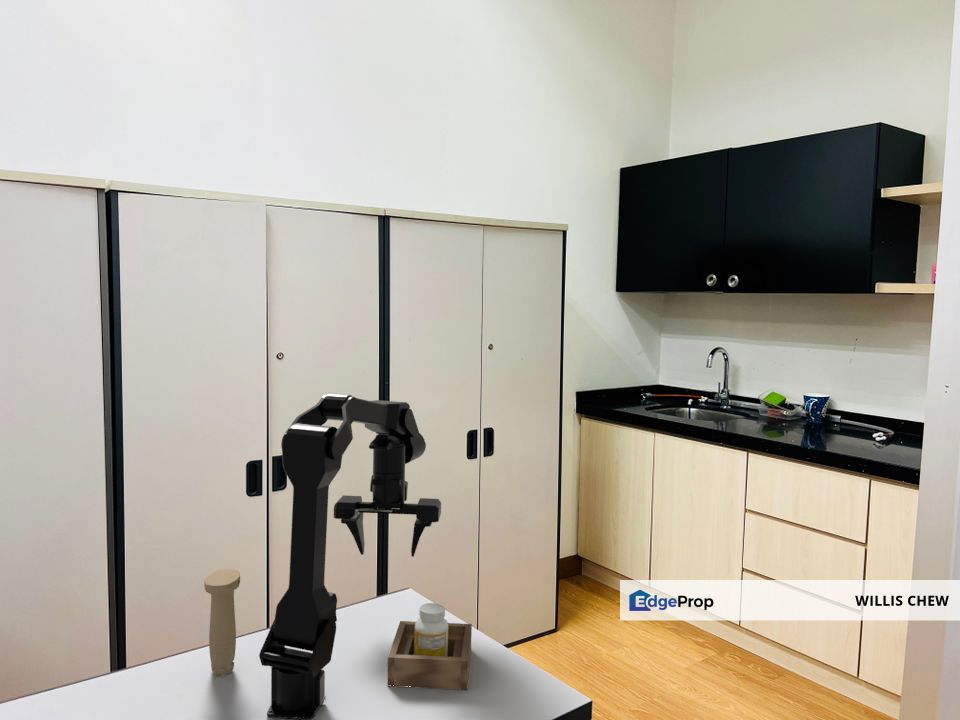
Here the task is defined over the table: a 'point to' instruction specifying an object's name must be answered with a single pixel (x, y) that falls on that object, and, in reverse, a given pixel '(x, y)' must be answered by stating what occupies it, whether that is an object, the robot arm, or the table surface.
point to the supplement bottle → (431, 631)
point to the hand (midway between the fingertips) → (387, 554)
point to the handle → (222, 619)
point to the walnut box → (430, 660)
